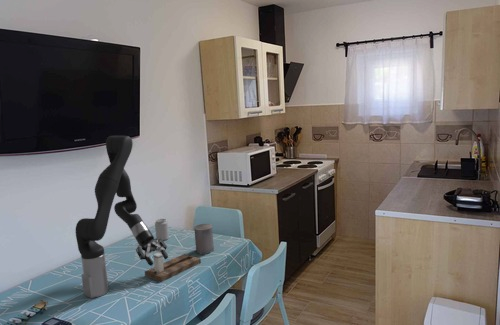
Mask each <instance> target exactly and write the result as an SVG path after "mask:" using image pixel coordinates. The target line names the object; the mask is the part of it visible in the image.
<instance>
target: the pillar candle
mask: <svg viewBox="0 0 500 325" xmlns="http://www.w3.org/2000/svg"><path fill="white" fill-rule="evenodd" d="M212 225H213V224H210V223H201V224H197V225H195V226H194V227H193V228H194V241H195V252H196V253H197V254H200V255H204V254H205V255H206V254H209V253H212V252H213V251H215V245H214V234H213V226H212Z"/></svg>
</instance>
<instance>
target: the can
mask: <svg viewBox="0 0 500 325" xmlns="http://www.w3.org/2000/svg"><path fill="white" fill-rule="evenodd" d="M154 228H155V238H156V239H155V240H156V241H157V240H159V238H161V239H162V240H163V242H164V241H167V240H168V239H169V238H170V234H169V222H168V220H167V219H166V218H158V219H156V220H155V222H154Z"/></svg>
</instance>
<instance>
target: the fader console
mask: <svg viewBox="0 0 500 325" xmlns="http://www.w3.org/2000/svg"><path fill="white" fill-rule="evenodd" d="M201 262H202V260H201V258H199V257H195V256H194V255H190V254H186V253H184V254H181V255H179V256H176V257H174V258H171V259H170V260H167V261H165V262H163V267H164V271H163V272H161V273H158V274H157V273H156V271H155V267H151V268H150V269H147V270H144V276H145V277H146V278H149V279H152V280H155V281H158V282H161V283H162V282H164V281H166V280H168V279H169V280H170V278H173V277H174V276H177V275H179V274H181V273H183V272H185V271H187V270H189V269H191V268H193V267H195V266H197V265H199V264H201Z"/></svg>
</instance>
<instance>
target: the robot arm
mask: <svg viewBox="0 0 500 325" xmlns="http://www.w3.org/2000/svg"><path fill="white" fill-rule="evenodd" d="M105 149H106V153H107V156H108V160H109V165H108V166H106V167H105V169H103V171H102V172H101V173H100V174H99V176H98V178H97V181H96V183H95V187H94V195H95V199H96V202H97V210H96V214H95V217H94V218H89V217H87V218H80V219H79V220H78V221H77V223H76V224H75V225H76V226H75V238H76V242H77V249H78V252H79V254H80V258H81V265H82V272H83V273H82V274H81V281H82V288H83V296H85V297H88V298H89V299H93V298H99V297H101V296H104V295H106V294H107V293H108V292H109V290H110V289H109V283H108V282H109V281H108V274H107V265H106V264H107V262H106V256H105V248H104V246H103V245H101V244H99V243H98V241H101V240H102V239H103V238H104V236H105V234H106V232H107V227H108V223H109V219H110V213H111V210H112V207H113V202H114V200H115V197H116V196H117V197H118V198H125V199H124V200H122V201H118V202H117V203H115V204H114V207H113V209H114V213H115V214H116V216H117V217H118V218H120V219H121V220H122V221H123V222H124V223H125V224H126V225H127V227H128V228H129V230H130V232H131V233H132V236H133V238H134V239H135V240H136V242H137V244H138V246H137V247H136V249H135V251H136V254H137V255H138V257H139V259H140V260H141V261H143V260H145V261H146V263H147V264H148V265H149V266H150V267H151V266H153V265H154V260H152V258H151V257H150V253H152V252H158V253H160V254H162V256H163V260H167V259H168V258H169V255H168V253H167V251H166V249H168V245H166V243H165V242H164V241H163V240H162V239H161V238H159V240H157V239H155V237H154V235H153V234H152V232H151V229H150V228H149V227H148V225H147V224H146V223H145V221H143V219H142V217H141V215H140V214H139V213H135V212H136V210H137V208H138V207H137V206H138V205H137V202H136V200H135V198H134V196H133V192H132V186H131V185H132V184H131V180H130V176H129V174H128V172H127V171H126V170H125V167H126V164H127V162H128V160H129V157H130V155H131V153H132V150H133V139H132V137H130V136H128V135H110V136H108V137H107V138H106V141H105ZM143 251H144V252H143Z"/></svg>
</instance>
